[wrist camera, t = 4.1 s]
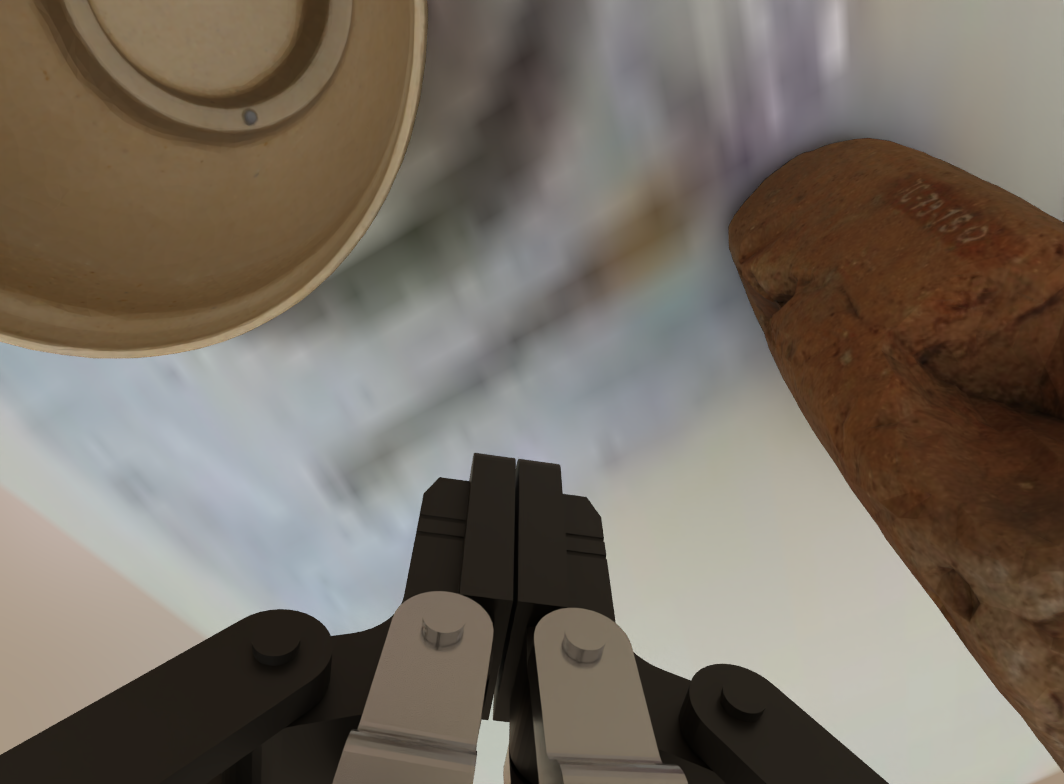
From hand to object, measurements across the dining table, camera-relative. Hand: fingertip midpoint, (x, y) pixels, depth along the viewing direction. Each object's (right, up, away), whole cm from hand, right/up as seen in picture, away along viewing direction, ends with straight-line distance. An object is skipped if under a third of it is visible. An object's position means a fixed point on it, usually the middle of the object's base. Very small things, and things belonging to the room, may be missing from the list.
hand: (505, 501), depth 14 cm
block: (+12, +6, +16) cm, 21 cm away
